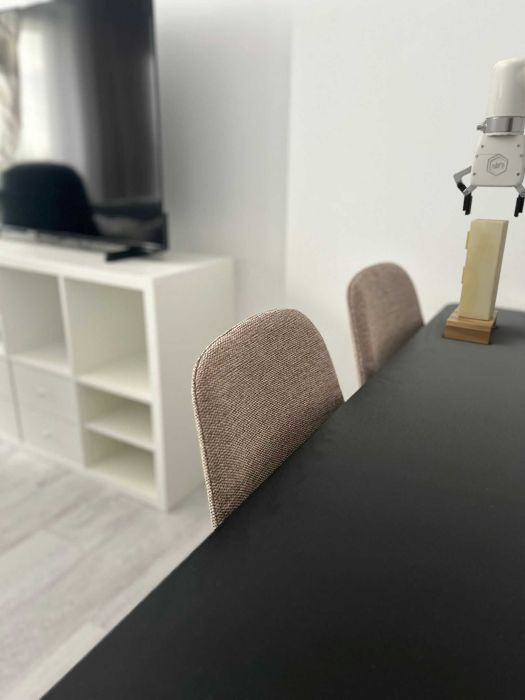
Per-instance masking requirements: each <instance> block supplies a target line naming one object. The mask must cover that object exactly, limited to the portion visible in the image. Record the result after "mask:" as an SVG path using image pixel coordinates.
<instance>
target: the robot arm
mask: <svg viewBox="0 0 525 700" xmlns="http://www.w3.org/2000/svg"><path fill="white" fill-rule="evenodd" d="M488 91H489V92H488V98H487V105H486V112H485V119H484V121H483V122H481V123H477V124H476V131H480V132H482V133H483V135H479V136H478V139H477V141H476V145H475V148H474V153H473V157H472V162H471V165H470V166H467V167H466V168H463V169H461V170H459V171H457V172H455V173H454V174H453V179H454V182H455V184H456V187H457V189H458V190H459V191H460V192H461V193H462V195H463V204H462V212H464V216H469V215H471V212H472V204H473V198H474V197H473V195H472V194H473V192H474V191H475V190H476V189H477V188H479V187H480V188H514V189H515V190H516V192H517V195H518V197H516V200H515V206H514V213H513V217H514V218H519V214H522V213H524V205H525V187H524V185H523V183H524V179H525V57H511V58H505V59H502V60H499V61H497V62H496V63H495V64H494V66H493V67H492V70H491V76H490V84H489V90H488ZM469 174H470V176H469V185H468V186H466V184H465V183H464V182H463V177H465V176H467V175H469Z"/></svg>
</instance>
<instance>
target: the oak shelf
mask: <svg viewBox="0 0 525 700" xmlns="http://www.w3.org/2000/svg"><path fill="white" fill-rule="evenodd" d="M458 311H459V304H458V306H457V307H456V308H455V309H454V311H453V312H452V313H451V314H450V316H449V317H448V318H447V319H446V322H445V330H444V335H443V336H444V338H445V339H451V340H458V341H465V342H471V343H475V344H476V343H477V344H483V345H488V344H489V343H490V338H491V332H492V329H496V326H497V321H498V316H499V310H498V309H494V314H493V315H492V317H491V318H490V319H489V320H488V321H487V320H480V319H473V318H466V317H459V316H458Z"/></svg>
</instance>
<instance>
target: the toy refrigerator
mask: <svg viewBox="0 0 525 700" xmlns="http://www.w3.org/2000/svg"><path fill="white" fill-rule="evenodd" d="M509 223H510V221H509V220H508V219H507V220H506V219H491V218H475V219H472V220H471V221H470V226H469V230H468V231H467V233H466V234H467V235H466V241H465V246H464V249H465V250H466V254H465V263H464V266H463V267H462V274H461V289H460V290H461V292H460V298H459V304H458V305H459V311H458V316H459V317H466V318H473V319H480V320H487V321H488V320H489V319H490V318H491V317H492V315H493V314H494V310H496V302H497V296H498V291H499V290H498V289H499V285H500V279H501V272H502V265H503V261H504V260H503V259H504V254H505V253H504V252H505V248H506V242H507V234H508V229H509Z"/></svg>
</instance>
